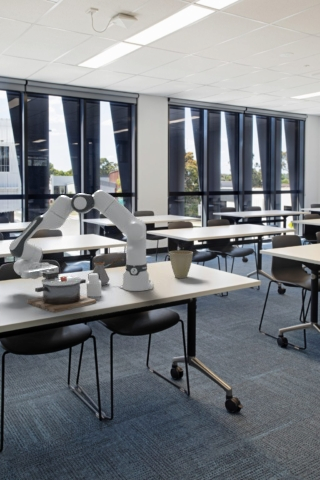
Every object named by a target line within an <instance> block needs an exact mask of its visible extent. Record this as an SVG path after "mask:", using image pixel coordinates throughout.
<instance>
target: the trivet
mask: <svg viewBox="0 0 320 480" xmlns="http://www.w3.org/2000/svg"><path fill="white" fill-rule="evenodd" d="M92 303H93V304H96V303H97V299H96V298H95V299H94V298H91V297H87V296H84V295H82V294H80V301H78V302H76V303H72V304H65V305H51V304H46V303H44V302H43V296H41V297H36V298H31V299H28V300H27V304H30V305H31V306H34V307H37V308H40V309H43V310H46V309H47V311H49V312H52V313H54V314H56V313H59V312H65V311H68V310H72V309H76V308H81V307H83V306H84V305H85V306H88V304H89V305H93V304H92Z"/></svg>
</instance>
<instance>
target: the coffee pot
mask: <svg viewBox="0 0 320 480" xmlns="http://www.w3.org/2000/svg"><path fill="white" fill-rule="evenodd" d="M120 260H122V261H124V258H123V256H122V257H120V258H117V259H114V260H113V261H111V262H110V263H109V264H106V263H105V261H96V262H93V265H94V268H93V270H92V273H93V272H96V273H99V274H100V281H101V287H103V286H106V285H107V284H108V283H109V282H110V277H109V276H108V273H107V271H106V268H107V267H109V266H110V265H114V264H115V263H117V262H118V261H120ZM105 264H106V265H105Z"/></svg>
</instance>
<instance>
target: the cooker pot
mask: <svg viewBox="0 0 320 480" xmlns="http://www.w3.org/2000/svg"><path fill="white" fill-rule="evenodd" d="M81 284H87V281H86V279H84V278H81V282H80V283H77V284H74V285H68V286H47V285H43V284H42V286H39V287H35V289H34V291H35V292H36V293H41V292H42V297H43V302H44V303H46V304H51V305H65V304H72V303H76V302H78V301H80V295H81Z"/></svg>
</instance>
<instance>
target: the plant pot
mask: <svg viewBox="0 0 320 480" xmlns="http://www.w3.org/2000/svg"><path fill="white" fill-rule="evenodd" d="M168 252H169V259H170V260H169V261H170V265H171V269H172V272H173V275H174V278H176V279H185V278H187V276H188V274H189V272H190V269H191V265H192V260H193V255H194V252H193V251H191V250H190V251H189V250H171V251H168Z"/></svg>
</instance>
